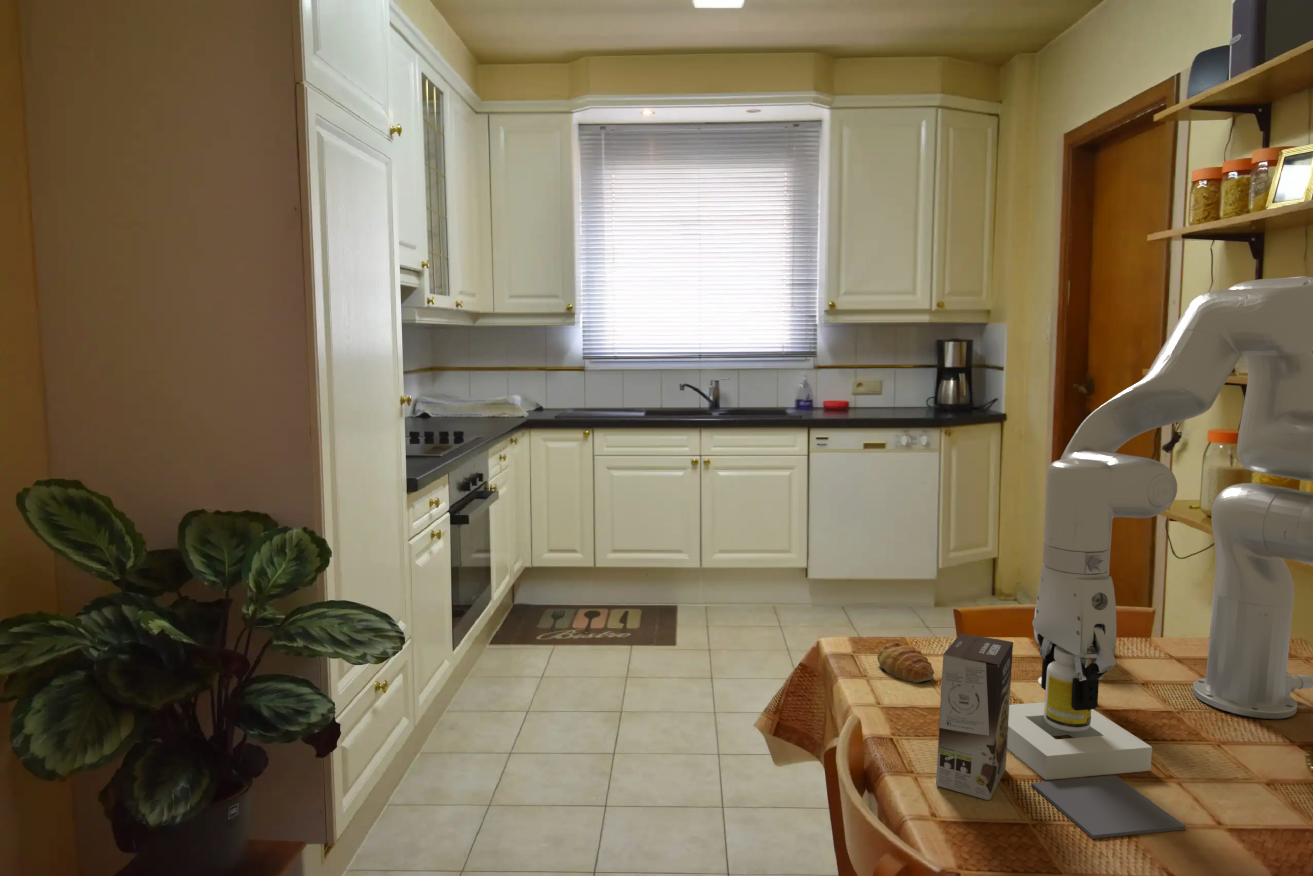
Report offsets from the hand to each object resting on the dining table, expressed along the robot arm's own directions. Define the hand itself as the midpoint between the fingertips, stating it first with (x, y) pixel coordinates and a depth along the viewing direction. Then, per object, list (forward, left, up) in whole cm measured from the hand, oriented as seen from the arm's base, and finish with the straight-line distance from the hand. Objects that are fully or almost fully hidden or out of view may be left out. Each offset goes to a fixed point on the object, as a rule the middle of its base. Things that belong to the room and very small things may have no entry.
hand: (1068, 697), depth 113 cm
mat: (+5, +14, -7) cm, 16 cm away
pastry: (+8, -27, -7) cm, 30 cm away
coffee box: (+16, +5, -7) cm, 18 cm away
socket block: (+1, 0, -7) cm, 7 cm away
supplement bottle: (0, 0, -4) cm, 4 cm away
